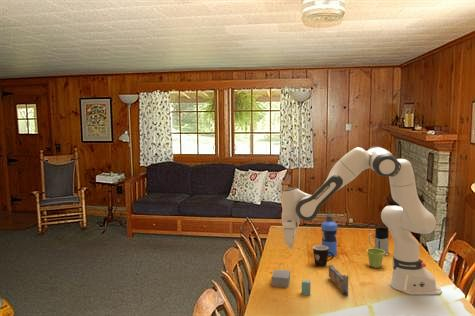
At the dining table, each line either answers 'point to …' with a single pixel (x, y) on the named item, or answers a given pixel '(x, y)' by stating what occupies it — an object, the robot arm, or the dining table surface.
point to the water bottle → (329, 235)
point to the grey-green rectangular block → (306, 287)
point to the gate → (336, 276)
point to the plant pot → (375, 257)
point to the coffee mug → (321, 255)
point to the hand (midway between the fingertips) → (290, 247)
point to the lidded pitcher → (381, 239)
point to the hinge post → (345, 285)
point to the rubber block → (281, 278)
